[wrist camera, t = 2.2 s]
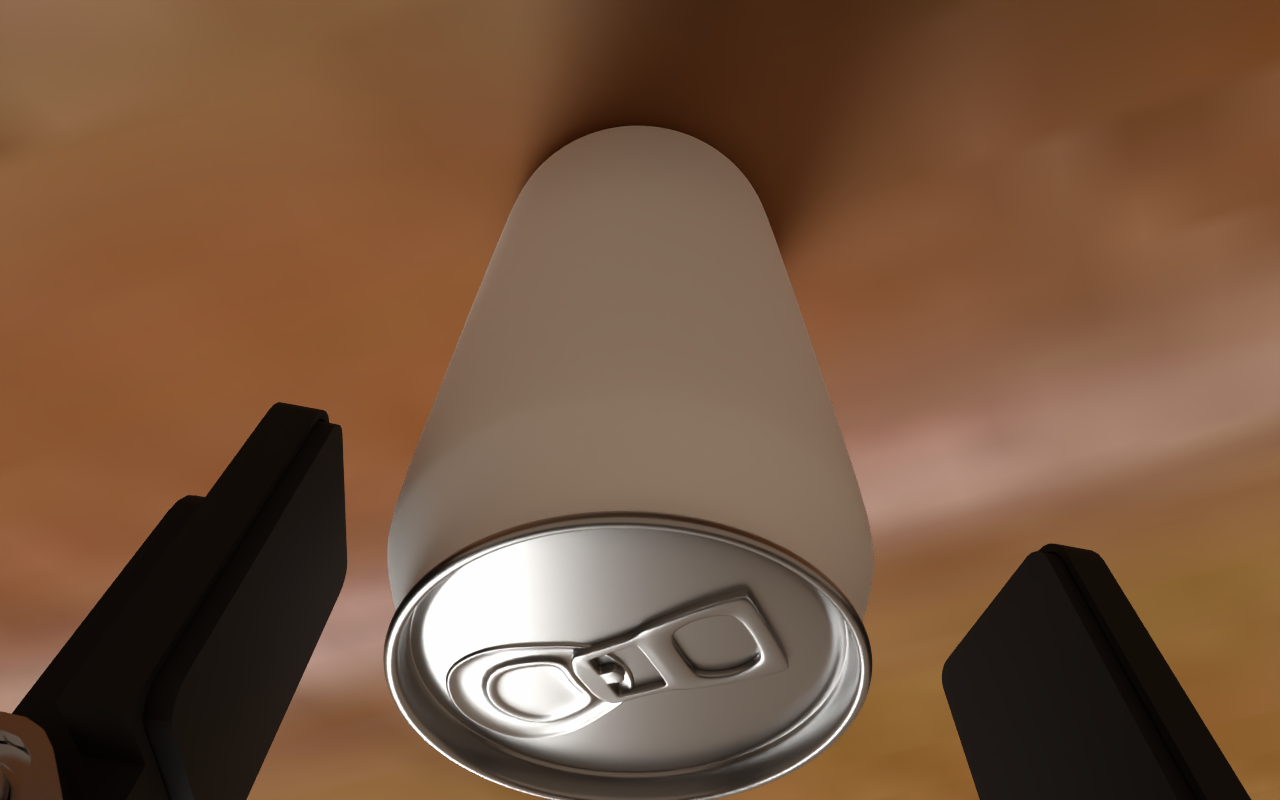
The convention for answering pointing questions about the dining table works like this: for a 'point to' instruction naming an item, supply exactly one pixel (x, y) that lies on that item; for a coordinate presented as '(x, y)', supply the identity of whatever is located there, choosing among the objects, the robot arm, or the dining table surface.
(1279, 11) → the dining table surface
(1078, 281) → the dining table surface
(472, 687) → the can
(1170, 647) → the dining table surface
